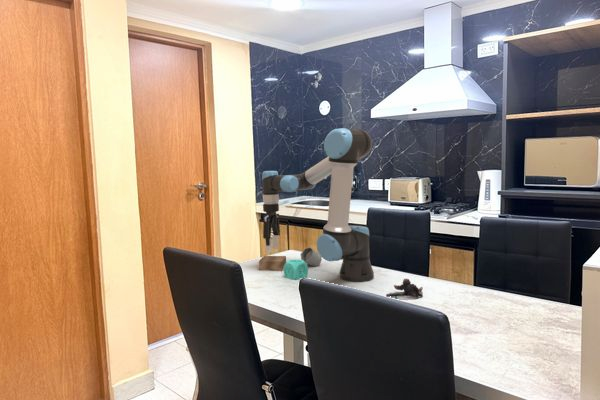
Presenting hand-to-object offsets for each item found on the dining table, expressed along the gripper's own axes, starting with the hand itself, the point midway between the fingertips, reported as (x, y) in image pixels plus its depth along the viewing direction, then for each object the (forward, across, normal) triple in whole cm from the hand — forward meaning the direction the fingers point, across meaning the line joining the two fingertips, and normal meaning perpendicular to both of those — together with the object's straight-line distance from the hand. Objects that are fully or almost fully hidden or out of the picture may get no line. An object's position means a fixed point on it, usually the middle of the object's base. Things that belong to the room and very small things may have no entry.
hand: (272, 250), depth 207 cm
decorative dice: (+10, +12, +16) cm, 22 cm away
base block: (+10, 0, 0) cm, 10 cm away
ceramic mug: (+10, -11, +15) cm, 21 cm away
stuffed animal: (+11, +18, +68) cm, 72 cm away
